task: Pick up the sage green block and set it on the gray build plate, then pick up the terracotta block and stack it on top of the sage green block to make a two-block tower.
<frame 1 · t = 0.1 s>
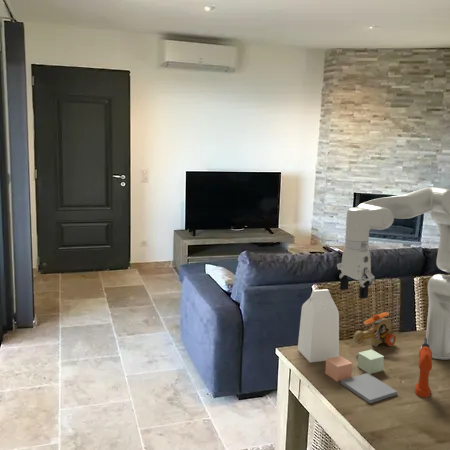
hand: (353, 293, 169), 31 cm above the table, tool pointing down, fingers open, 9 cm apart
milk: (317, 354, 194), on the table
toy drill: (422, 385, 171), on the table
gray build plate: (368, 389, 168), on the table
terracotta block: (338, 375, 177), on the table
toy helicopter: (373, 346, 202), on the table
sage block: (370, 368, 183), on the table
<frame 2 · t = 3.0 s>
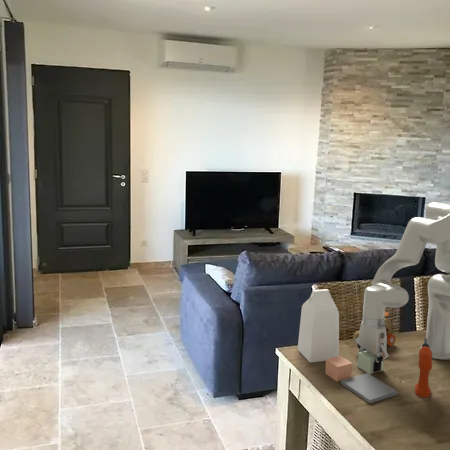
hand: (370, 366, 182), 1 cm above the table, tool pointing down, fingers closed on sage block, 6 cm apart
sage block: (369, 368, 183), on the table, touching gripper
everything else where it was.
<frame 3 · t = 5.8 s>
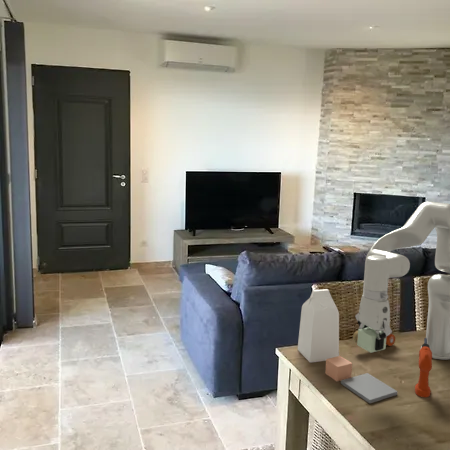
hand: (371, 344, 165), 16 cm above the table, tool pointing down, fingers closed on sage block, 6 cm apart
sage block: (371, 347, 165), point 15 cm above the table, touching gripper
everything else where it was.
when the fingers open (3 cm above the table, at t = 8.7 s): sage block drops 1 cm, resting on gray build plate.
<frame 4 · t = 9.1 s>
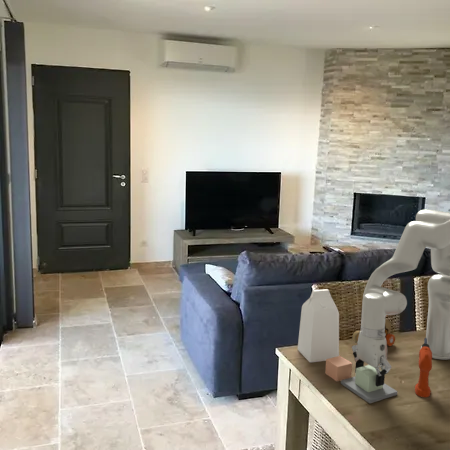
hand: (369, 378, 167), 4 cm above the table, tool pointing down, fingers open, 9 cm apart
sage block: (368, 385, 168), point 1 cm above the table, touching gray build plate
everything else where it was.
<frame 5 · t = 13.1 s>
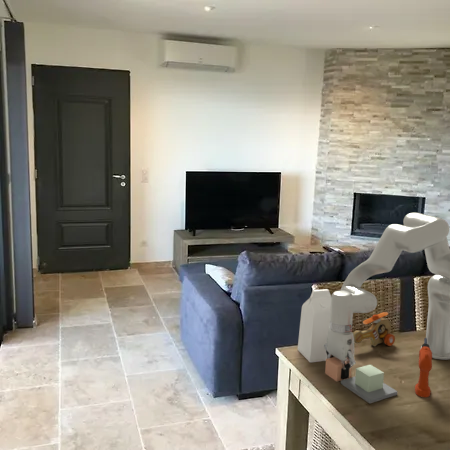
hand: (338, 373, 177), 1 cm above the table, tool pointing down, fingers closed on terracotta block, 6 cm apart
terracotta block: (338, 375, 177), on the table, touching gripper
everything else where it was.
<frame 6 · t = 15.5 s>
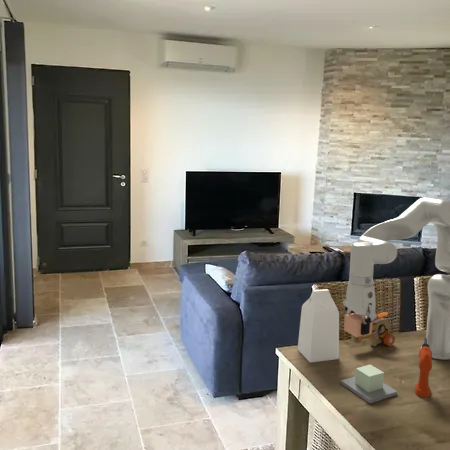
hand: (357, 329, 168), 19 cm above the table, tool pointing down, fingers closed on terracotta block, 6 cm apart
terracotta block: (357, 332, 169), point 19 cm above the table, touching gripper
everything else where it was.
when the fingers open (9 cm above the table, at t = 18.4 s): terracotta block stays where it is, resting on sage block.
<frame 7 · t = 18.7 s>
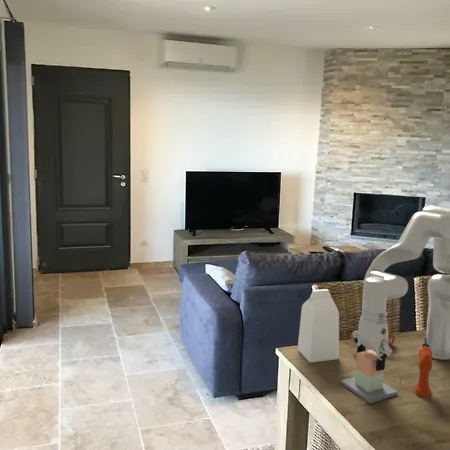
hand: (370, 363, 166), 9 cm above the table, tool pointing down, fingers open, 8 cm apart
terracotta block: (369, 370, 167), point 7 cm above the table, touching sage block
sage block: (368, 385, 168), point 1 cm above the table, touching gray build plate, terracotta block
everything else where it was.
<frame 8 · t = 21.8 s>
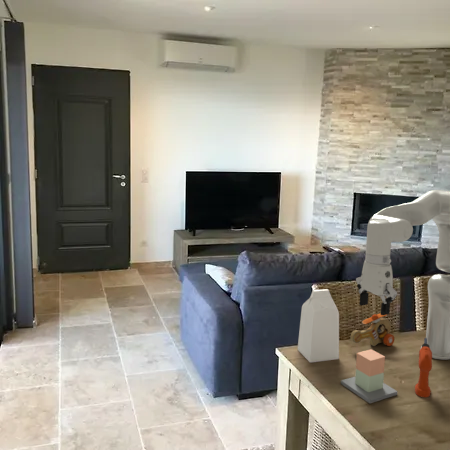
hand: (374, 309, 163), 28 cm above the table, tool pointing down, fingers open, 9 cm apart
nothing on the table moved.
at the end: sage block inside the target area on the gray build plate (0.1 cm from its centre), point 1.2 cm above the gray build plate's base; terracotta block 0.0 cm off-centre on the sage block, point 5.6 cm above the sage block's base; terracotta block tilted 0° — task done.
